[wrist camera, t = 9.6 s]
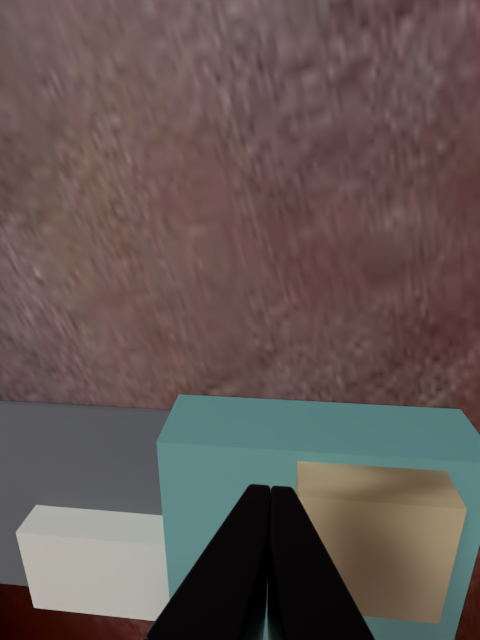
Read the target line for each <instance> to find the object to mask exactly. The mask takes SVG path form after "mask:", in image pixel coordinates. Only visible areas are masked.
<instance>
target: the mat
mask: <svg viewBox="0 0 480 640" xmlns="http://www.w3.org/2000/svg"><path fill="white" fill-rule="evenodd" d="M170 412H171V410H155V409H137V408H120V407H102V406H84V405H67V404H49V403H32V402H14V401H0V583H3V584H13V585H23V586H29V585H28V581H27V577H26V573H25V569H24V565H23V561H22V557H21V553H20V549H19V544H18V540H17V536H16V531H17V530H18V528H19V527H20V526H21V524H22V523H23V522H24V520H25V519H26V518H27V516H28V515H29V514H30V512H31V511H32V510H33V508H34V507H35V506H36V505H44V506H56V507H68V508H80V509H92V510H104V511H116V512H128V513H140V514H152V515H162V504H161V492H160V480H159V468H158V456H157V444H156V442H157V440H158V437H159V435H160V433H161V431H162V429H163V427H164V425H165V423H166V420H167V418H168V416H169V414H170Z"/></svg>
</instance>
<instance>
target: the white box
mask: <svg viewBox="0 0 480 640" xmlns="http://www.w3.org/2000/svg"><path fill="white" fill-rule="evenodd" d="M16 536H17V540H18V544H19V549H20V553H21V557H22V561H23V565H24V569H25V573H26V577H27V581H28V585H29V589H30V593H31V597H32V601H33V606H34V608H41V609H50V610H59V611H68V612H78V613H87V614H96V615H105V616H115V617H124V618H133V619H142V620H152V621H156V619H157V618H158V616H159V615H160V613H161V612H162V610H163V609H164V608H165V606H166V605H167V603H168V602H169V600H170V599H169V587H168V575H167V563H166V551H165V539H164V527H163V515H152V514H140V513H128V512H116V511H104V510H92V509H80V508H68V507H56V506H44V505H36V506H35V507H34V508H33V510H32V511H31V512H30V514H29V515H28V516H27V518H26V519H25V520H24V522H23V523H22V524H21V526H20V527H19V528H18V530H17V531H16Z"/></svg>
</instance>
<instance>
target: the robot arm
mask: <svg viewBox="0 0 480 640" xmlns="http://www.w3.org/2000/svg"><path fill="white" fill-rule="evenodd" d="M267 585H268V588H267ZM266 607H267V628H268V640H375V638H374V636H373V634H372V632H371V631H370V629H369V627H368V625H367V623H366V621H365V619H364V618H363V616H362V614H361V612H360V610H359V608H358V607H357V605H356V603H355V601H354V599H353V597H352V595H351V594H350V592H349V590H348V588H347V586H346V584H345V583H344V581H343V579H342V577H341V575H340V573H339V571H338V570H337V568H336V566H335V564H334V562H333V560H332V559H331V557H330V555H329V553H328V551H327V549H326V547H325V546H324V544H323V542H322V540H321V538H320V536H319V535H318V533H317V531H316V529H315V527H314V525H313V523H312V522H311V520H310V518H309V516H308V514H307V512H306V511H305V509H304V507H303V505H302V503H301V501H300V499H299V498H298V496H297V494H296V492H295V490H294V489H293V488H292V487H290V486H276V485H275V486H272V488H270V486H269V485H262V484H250V485H249V486H248V487H247V488H246V490H245V491H244V493H243V494H242V495H241V497H240V498H239V500H238V501H237V503H236V504H235V506H234V507H233V509H232V510H231V511H230V513H229V514H228V516H227V517H226V519H225V520H224V522H223V523H222V525H221V526H220V527H219V529H218V530H217V532H216V533H215V535H214V536H213V538H212V539H211V541H210V542H209V543H208V545H207V546H206V548H205V549H204V551H203V552H202V554H201V555H200V557H199V558H198V559H197V561H196V562H195V564H194V565H193V567H192V568H191V570H190V571H189V573H188V574H187V576H186V577H185V578H184V580H183V581H182V583H181V584H180V586H179V587H178V589H177V590H176V592H175V593H174V594H173V596H172V597H171V599H170V600H169V602H168V603H167V605H166V606H165V608H164V609H163V610H162V612H161V613H160V615H159V616H158V618H157V619H156V621H155V622H154V624H153V625H152V626H151V628H150V629H149V631H148V632H147V634H146V637H147V639H146V638H143V639H142V640H263V635H264V627H265V619H266Z"/></svg>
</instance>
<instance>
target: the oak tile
mask: <svg viewBox="0 0 480 640" xmlns="http://www.w3.org/2000/svg"><path fill="white" fill-rule="evenodd" d="M295 492H296V494H297V496H298V498H299V499H300V501H301V503H302V505H303V507H304V509H305V511H306V512H307V514H308V516H309V518H310V520H311V522H312V523H313V525H314V527H315V529H316V531H317V533H318V535H319V536H320V538H321V540H322V542H323V544H324V546H325V547H326V549H327V551H328V553H329V555H330V557H331V559H332V560H333V562H334V564H335V566H336V568H337V570H338V571H339V573H340V575H341V577H342V579H343V581H344V583H345V584H346V586H347V588H348V590H349V592H350V594H351V595H352V597H353V599H354V601H355V603H356V605H357V607H358V608H359V610H360V612H361V614H362V616H368V617H378V618H388V619H398V620H408V621H418V622H428V623H438V624H439V622H440V618H441V614H442V610H443V606H444V602H445V598H446V594H447V589H448V585H449V581H450V577H451V573H452V569H453V565H454V561H455V557H456V553H457V549H458V545H459V540H460V536H461V532H462V528H463V524H464V520H465V516H466V512H467V508H466V506H465V504H464V503H463V501H462V499H461V497H460V495H459V493H458V492H457V490H456V488H455V486H454V484H453V482H452V480H451V479H450V477H449V475H448V473H447V471H438V470H423V469H408V468H393V467H378V466H363V465H349V464H334V463H319V462H304V461H297V469H296V486H295Z"/></svg>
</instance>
